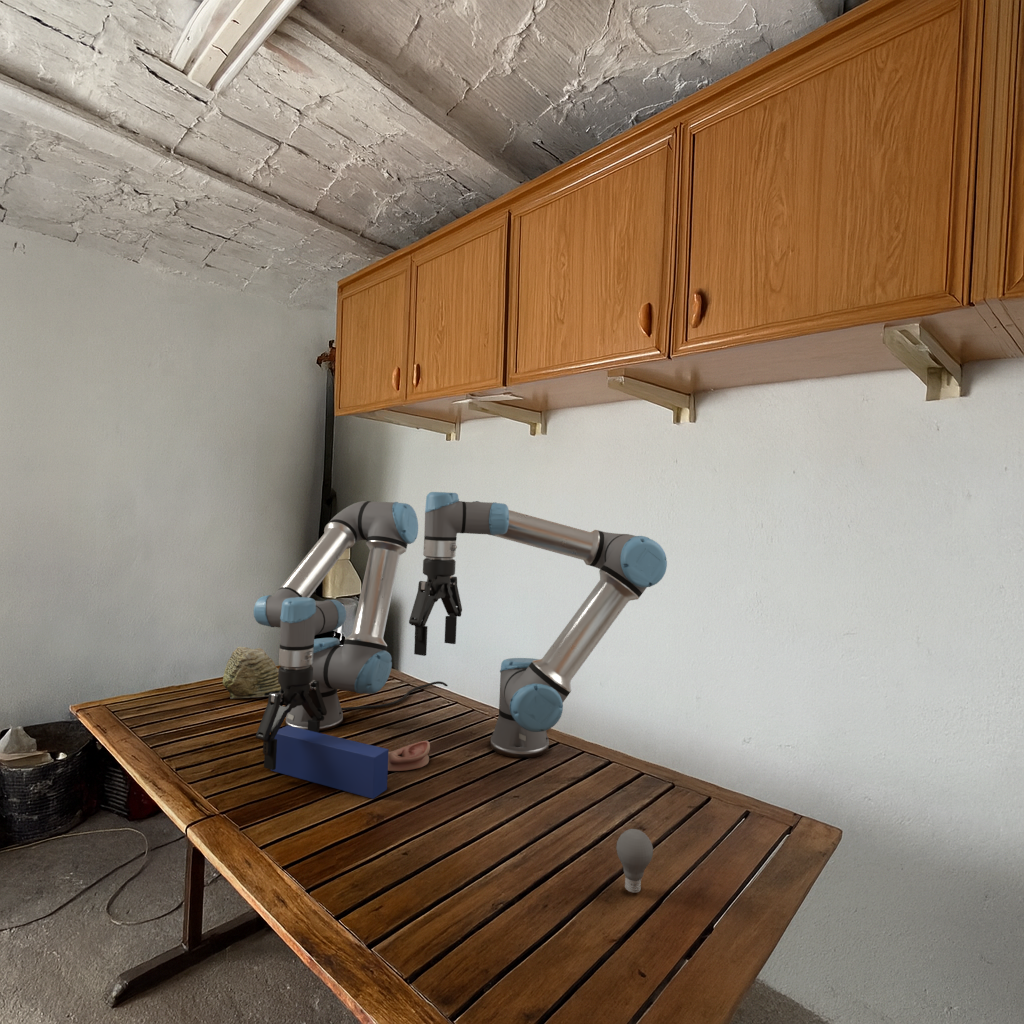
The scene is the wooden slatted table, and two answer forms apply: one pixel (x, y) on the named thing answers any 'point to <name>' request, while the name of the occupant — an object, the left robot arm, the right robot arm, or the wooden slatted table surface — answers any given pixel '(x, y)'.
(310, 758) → the bar
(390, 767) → the anatomical model
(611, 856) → the wooden slatted table surface
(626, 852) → the light bulb
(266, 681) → the fossil
